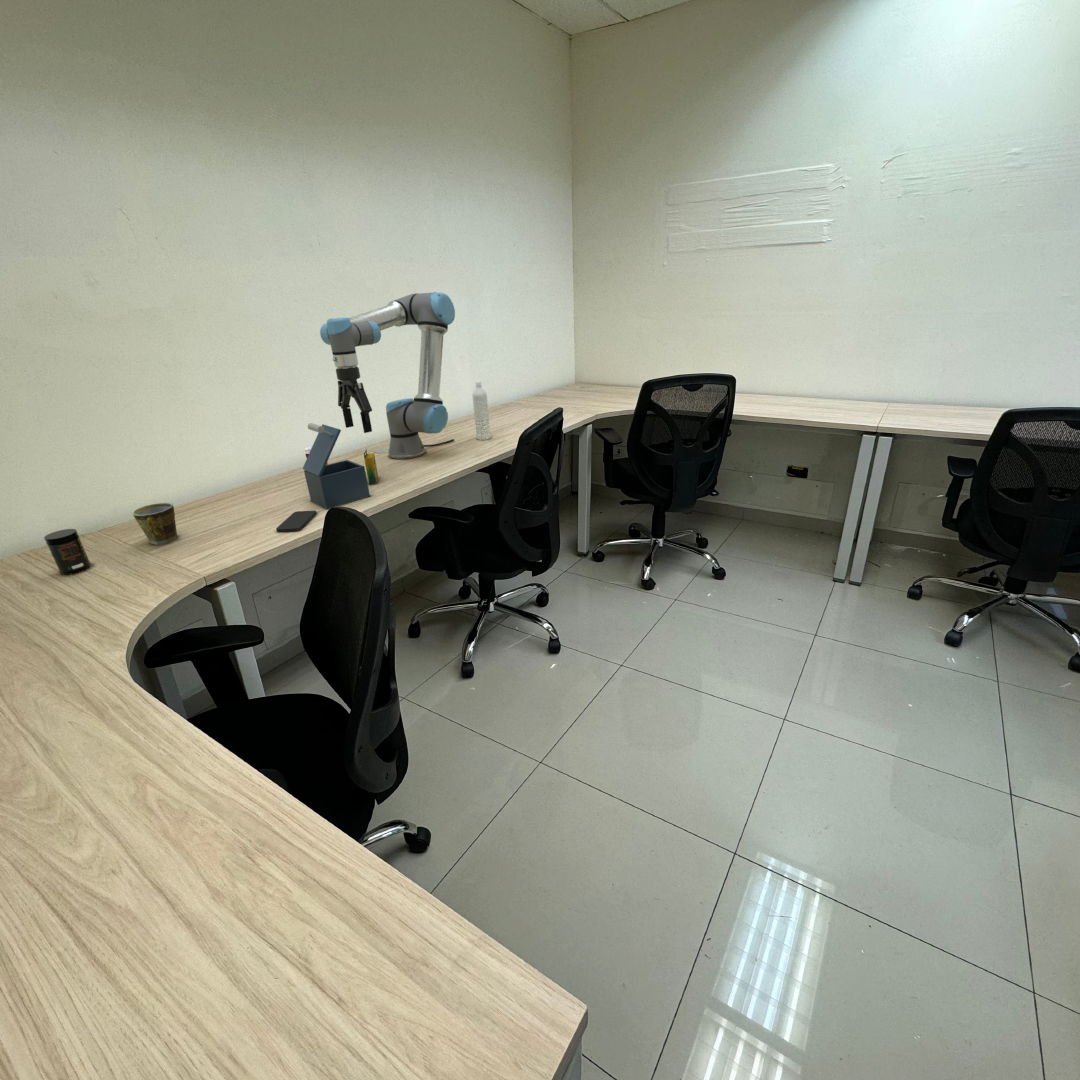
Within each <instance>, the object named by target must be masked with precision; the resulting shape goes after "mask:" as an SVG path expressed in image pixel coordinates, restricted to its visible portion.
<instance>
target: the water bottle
mask: <svg viewBox="0 0 1080 1080" xmlns="http://www.w3.org/2000/svg"><path fill="white" fill-rule="evenodd" d="M488 403H489V402H488V393H487V392H486V390H485V389H484V387H482V381H475V387H474V390H473V392H472V404H473V416H474V425H475V435H476V439H477V440H478V441H487V440H490V439H491V438H492V437H491V426H490V425H491V424H490V416H489V415H490V414H489V413H490V412H489V405H488Z"/></svg>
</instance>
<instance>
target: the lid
mask: <svg viewBox="0 0 1080 1080" xmlns="http://www.w3.org/2000/svg"><path fill="white" fill-rule="evenodd" d="M307 429H308V430H310V431H313V432H316V433H317V435H316V436H315V437H316V438H315V439H314V441H313V444H312V445H311V446H312V449H311V451H310V453H309V455H308V457H307V458H306V460H305V462H304V465H303V467H302V470H303V471H304V470H306V471H308V472H311V473H313V474H315V475H317V476H320V477H321V475H322V472H323V470H324V468H325V466H326V463H328V461H329V459H330V456H331V455H332V452H333V450H334V447H335V446H336V443H337V441H338V439H339V436H340V435H341V432H342V430H341V429H340V428H336V427H333V426H330V425H327V424H324V423H323V424H321V425H318V424H316V423H312V422H309V423H308V424H307Z"/></svg>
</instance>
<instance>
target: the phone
mask: <svg viewBox="0 0 1080 1080" xmlns="http://www.w3.org/2000/svg"><path fill="white" fill-rule="evenodd" d="M316 515H317V511H316V510H298V511H294V512H292V513H291V514H290V515H289V516H288V517H287V518H286V519H285V520H284V521H282V522H281V523H280V524H279V525H278V526H277V527H276V528H275V529H276V530H275V531H276V532H295V531H297V532H298V531H300V530H302V528H304V527H305V526H306V524H308V523H309V522H310V521H311V520H312V518H314V517H315V516H316Z"/></svg>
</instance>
